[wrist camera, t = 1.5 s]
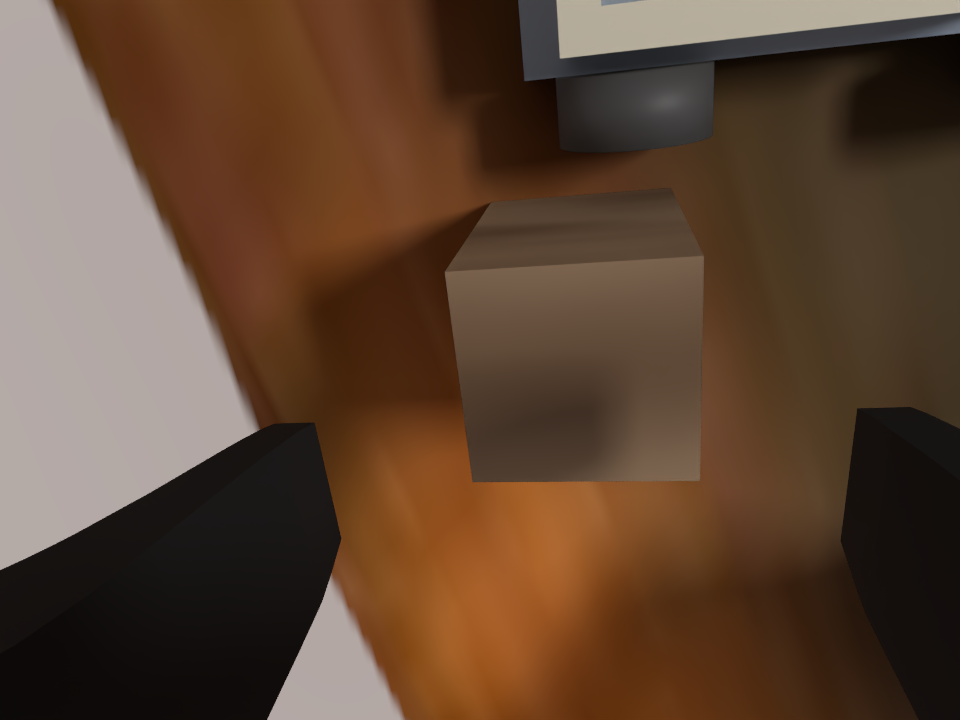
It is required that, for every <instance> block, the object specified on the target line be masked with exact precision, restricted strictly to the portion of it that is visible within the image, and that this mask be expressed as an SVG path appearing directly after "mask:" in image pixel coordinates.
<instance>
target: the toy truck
mask: <svg viewBox="0 0 960 720" xmlns="http://www.w3.org/2000/svg"><path fill="white" fill-rule="evenodd" d="M518 4H519V17H520V30H521V43H522V56H523V69H524V81H531V80H540V79H549V78H556V94H557V110H558V126H559V143H560V149H562V150H565V151H571V152H585V153H604V152H625V151H638V150H648V149H657V148H664V147H671V146H678V145H683V144H688V143H693V142H697V141H701V140H704V139H707V138H709V137H711V136H712V135H713V105H714V61H712V60H721V59H730V58H739V57H748V56H757V55H766V54H775V53H784V52H794V51H803V50H812V49H821V48H830V47H839V46H848V45H857V44H866V43H875V42H884V41H893V40H902V39H911V38H920V37H930V36H939V35H948V34H957V33H960V0H518ZM558 77H559V78H558Z"/></svg>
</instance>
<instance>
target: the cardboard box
mask: <svg viewBox="0 0 960 720" xmlns="http://www.w3.org/2000/svg"><path fill="white" fill-rule="evenodd" d="M445 278H446V286H447V293H448V301H449V308H450V316H451V323H452V331H453V338H454V346H455V353H456V361H457V368H458V376H459V383H460V391H461V398H462V406H463V413H464V421H465V428H466V436H467V443H468V451H469V458H470V466H471V473H472V481H473V482H568V481H700V443H701V388H702V333H703V278H704V255H703V253H702V251H701V249H700V247H699V245H698V243H697V241H696V239H695V237H694V235H693V232H692V230H691V228H690V226H689V224H688V222H687V220H686V218H685V216H684V214H683V212H682V210H681V208H680V206H679V204H678V202H677V200H676V198H675V195H674V193H673V191H672V189H671V188H663V189H651V190H638V191H625V192H613V193H600V194H587V195H575V196H562V197H549V198H537V199H524V200H512V201H499V202H491V203H490V205H489V206H488V208H487V209H486V211H485V212H484V214H483V215H482V217H481V218H480V220H479V221H478V223H477V224H476V226H475V227H474V229H473V230H472V232H471V233H470V235H469V236H468V238H467V239H466V241H465V242H464V244H463V245H462V247H461V248H460V250H459V251H458V253H457V254H456V256H455V257H454V259H453V260H452V262H451V263H450V265H449V266H448V268H447V269H446V271H445Z"/></svg>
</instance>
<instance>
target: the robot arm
mask: <svg viewBox="0 0 960 720" xmlns="http://www.w3.org/2000/svg"><path fill="white" fill-rule="evenodd" d="M340 541H341V535H340V531H339V527H338V522H337V518H336V514H335V509H334V505H333V501H332V497H331V492H330V488H329V484H328V479H327V475H326V471H325V466H324V462H323V458H322V453H321V449H320V445H319V440H318V436H317V432H316V427H315V423H283V424H273V425H271V426H268V427H266V428H264V429H261V430H259V431H257V432H255V433H253V434H251V435H250V436H248V437H246V438H244V439H242V440H240V441H238V442H237V443H235V444H233V445H231V446H230V447H228V448H226V449H224V450H222V451H221V452H219V453H217V454H216V455H214V456H212V457H211V458H209V459H207V460H205V461H204V462H202V463H200V464H199V465H197V466H195V467H193V468H192V469H190V470H188V471H187V472H185V473H183V474H182V475H180V476H178V477H176V478H175V479H173V480H171V481H170V482H168V483H166V484H165V485H163V486H161V487H159V488H158V489H156V490H154V491H152V492H151V493H149V494H147V495H146V496H144V497H142V498H140V499H138V500H136V501H134V502H133V503H131V504H129V505H127V506H125V507H123V508H122V509H120V510H118V511H116V512H115V513H112V514H111V515H109V516H107V517H105V518H104V519H102V520H100V521H98V522H96V523H94V524H92V525H91V526H89V527H87V528H85V529H83V530H81V531H80V532H78V533H76V534H74V535H72V536H70V537H68V538H66V539H64V540H63V541H61V542H58V543H57V544H55V545H53V546H51V547H49V548H47V549H44V550H42V551H40V552H38V553H36V554H34V555H32V556H30V557H28V558H26V559H24V560H22V561H19V562H18V563H15V564H13V565H11V566H9V567H6V568H4V569H2V570H0V720H267V718H268V716H269V714H270V712H271V710H272V708H273V706H274V704H275V702H276V699H277V697H278V695H279V693H280V691H281V689H282V687H283V685H284V682H285V680H286V678H287V676H288V674H289V672H290V670H291V668H292V665H293V664H294V661H295V659H296V657H297V655H298V653H299V651H300V649H301V646H302V644H303V642H304V640H305V638H306V635H307V633H308V631H309V629H310V627H311V625H312V623H313V620H314V618H315V616H316V614H317V612H318V609H319V607H320V605H321V603H322V600H323V597H324V594H325V591H326V588H327V585H328V582H329V579H330V576H331V573H332V569H333V566H334V562H335V559H336V555H337V552H338V548H339V545H340ZM841 543H842V546H843V549H844V552H845V555H846V558H847V561H848V564H849V567H850V570H851V574H852V577H853V580H854V582H855V585H856V588H857V591H858V594H859V596H860V599H861V602H862V605H863V607H864V610H865V613H866V615H867V617H868V619H869V621H870V623H871V625H872V627H873V629H874V631H875V633H876V635H877V637H878V639H879V641H880V643H881V645H882V647H883V649H884V651H885V653H886V655H887V657H888V659H889V661H890V663H891V665H892V667H893V669H894V671H895V673H896V675H897V677H898V679H899V681H900V683H901V685H902V687H903V689H904V691H905V693H906V695H907V697H908V699H909V701H910V703H911V705H912V707H913V709H914V711H915V713H916V715H917V717H918V719H919V720H960V429H959V428H957V427H955V426H953V425H951V424H948V423H946V422H944V421H942V420H940V419H938V418H936V417H934V416H931V415H929V414H927V413H924V412H922V411H919V410H917V409H914V408H912V407H897V408H859V409H857V416H856V424H855V432H854V439H853V447H852V455H851V463H850V471H849V479H848V487H847V495H846V503H845V511H844V519H843V526H842V534H841Z"/></svg>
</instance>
